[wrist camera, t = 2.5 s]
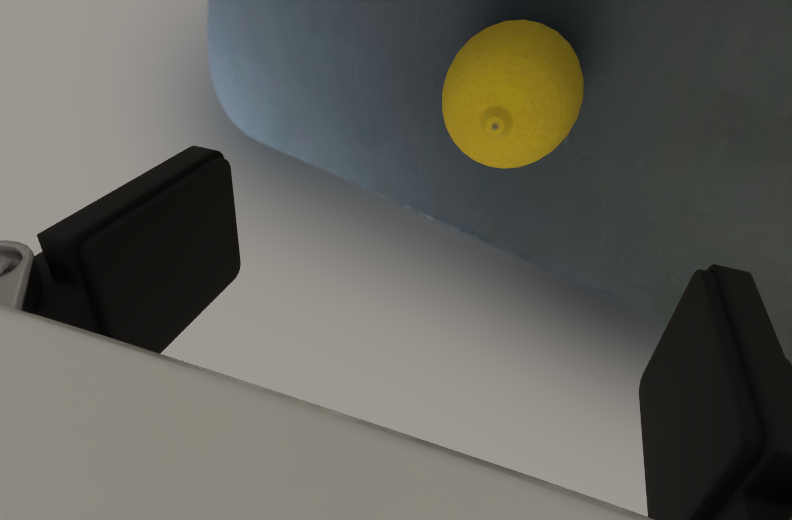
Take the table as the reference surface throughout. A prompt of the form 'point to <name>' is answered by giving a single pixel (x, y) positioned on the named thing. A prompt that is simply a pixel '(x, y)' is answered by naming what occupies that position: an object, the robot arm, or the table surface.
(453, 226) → the table surface
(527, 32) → the lemon
